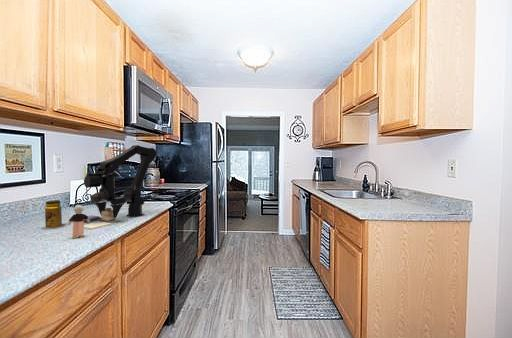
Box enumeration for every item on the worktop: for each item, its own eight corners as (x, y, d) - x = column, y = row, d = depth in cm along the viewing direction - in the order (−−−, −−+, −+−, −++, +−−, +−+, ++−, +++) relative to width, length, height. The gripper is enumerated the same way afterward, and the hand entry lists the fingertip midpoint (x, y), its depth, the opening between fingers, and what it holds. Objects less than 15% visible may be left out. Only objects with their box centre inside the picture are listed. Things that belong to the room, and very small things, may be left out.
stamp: (109, 219, 143) (109, 207, 143) (115, 220, 142) (115, 208, 141) (101, 221, 139) (101, 208, 139) (107, 221, 138) (107, 209, 137)
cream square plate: (99, 221, 138) (99, 220, 138) (116, 223, 133) (116, 222, 133) (72, 227, 126) (72, 226, 126) (90, 229, 121) (90, 228, 121)
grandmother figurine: (71, 239, 106) (70, 206, 106) (66, 238, 108) (65, 205, 108) (92, 235, 113) (91, 204, 112) (87, 233, 115) (86, 203, 114)
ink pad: (91, 218, 146) (91, 215, 146) (101, 219, 143) (101, 216, 143) (72, 222, 137) (72, 218, 137) (82, 223, 134) (82, 220, 134)
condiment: (41, 229, 123) (40, 202, 122) (49, 225, 131) (48, 199, 130) (60, 228, 125) (60, 201, 125) (67, 223, 133) (66, 198, 133)
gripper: (80, 186, 137) (80, 218, 137) (106, 188, 129) (106, 221, 129) (101, 184, 147) (101, 214, 147) (126, 186, 139) (126, 217, 139)
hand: (108, 216), depth 140 cm, fingers open, 9 cm apart
